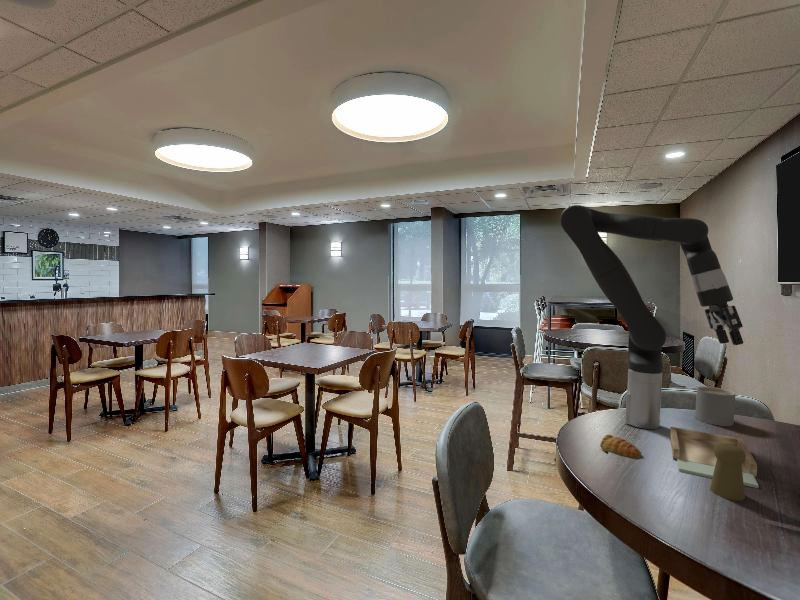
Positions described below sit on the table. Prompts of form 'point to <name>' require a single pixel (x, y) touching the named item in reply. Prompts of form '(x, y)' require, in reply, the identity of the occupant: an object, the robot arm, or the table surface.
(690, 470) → the panel
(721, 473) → the cork
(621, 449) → the pastry
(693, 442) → the tray
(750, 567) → the table surface
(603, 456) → the table surface
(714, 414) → the coffee mug
